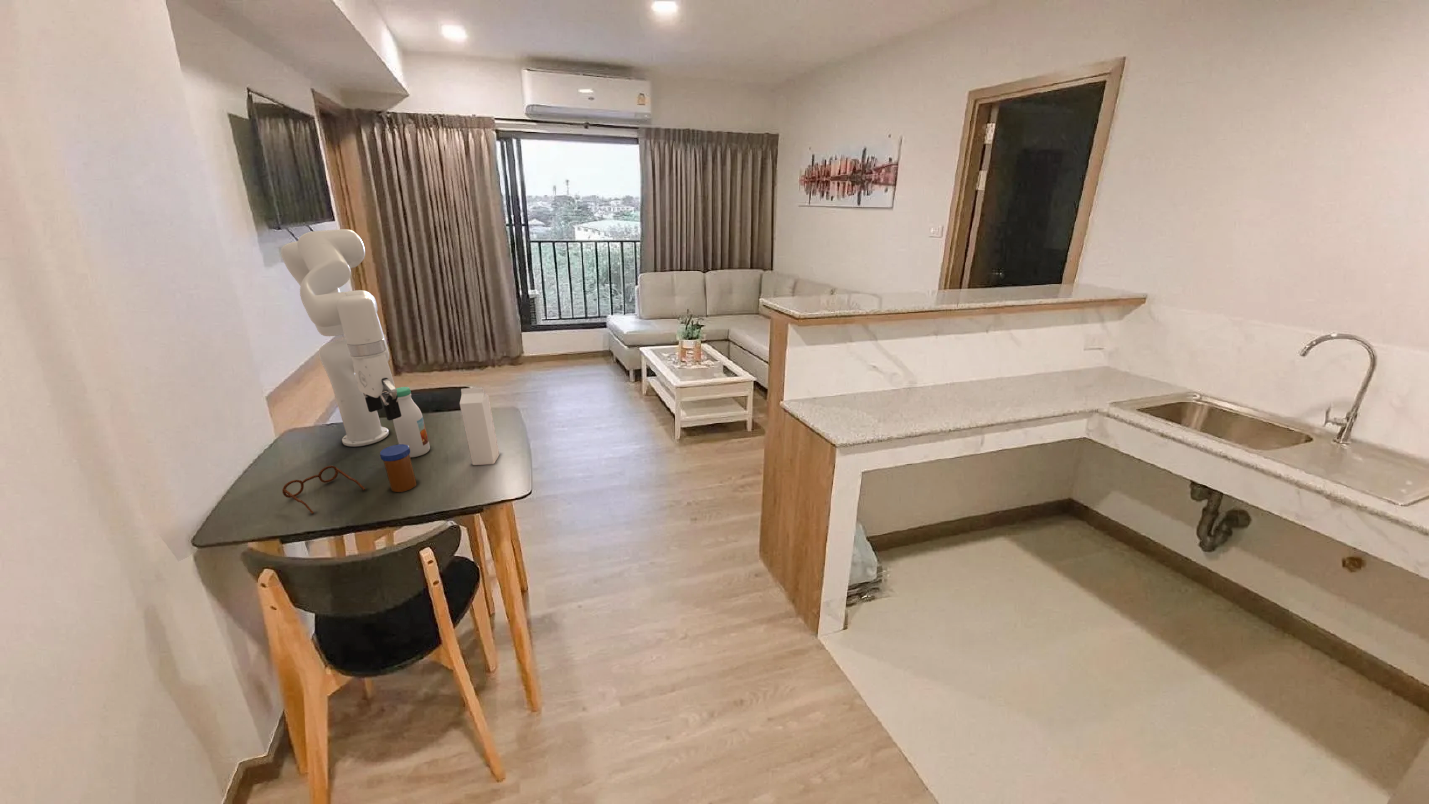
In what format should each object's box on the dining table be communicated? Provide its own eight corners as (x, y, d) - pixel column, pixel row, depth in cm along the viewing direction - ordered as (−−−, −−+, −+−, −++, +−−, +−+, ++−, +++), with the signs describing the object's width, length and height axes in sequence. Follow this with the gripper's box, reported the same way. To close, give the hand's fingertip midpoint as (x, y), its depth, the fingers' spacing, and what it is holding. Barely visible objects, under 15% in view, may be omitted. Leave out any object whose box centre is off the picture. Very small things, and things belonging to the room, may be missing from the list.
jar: (387, 487, 146) (377, 453, 142) (409, 478, 150) (400, 444, 146) (398, 494, 142) (388, 459, 139) (421, 484, 147) (412, 450, 143)
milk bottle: (418, 459, 160) (402, 394, 153) (395, 457, 162) (378, 393, 154) (436, 447, 167) (421, 385, 160) (413, 445, 169) (398, 383, 161)
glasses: (339, 478, 151) (333, 462, 149) (366, 490, 145) (361, 473, 143) (285, 501, 140) (278, 484, 139) (311, 515, 134) (305, 497, 132)
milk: (478, 455, 162) (464, 384, 154) (500, 454, 162) (486, 383, 154) (472, 465, 156) (456, 392, 148) (494, 464, 157) (480, 391, 148)
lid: (376, 456, 142) (374, 451, 142) (402, 446, 147) (401, 441, 147) (388, 463, 139) (387, 458, 138) (415, 453, 144) (414, 448, 143)
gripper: (334, 346, 134) (353, 412, 141) (367, 358, 125) (386, 427, 131) (367, 339, 140) (384, 402, 146) (401, 349, 130) (417, 416, 137)
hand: (385, 414), depth 139 cm, fingers open, 9 cm apart
